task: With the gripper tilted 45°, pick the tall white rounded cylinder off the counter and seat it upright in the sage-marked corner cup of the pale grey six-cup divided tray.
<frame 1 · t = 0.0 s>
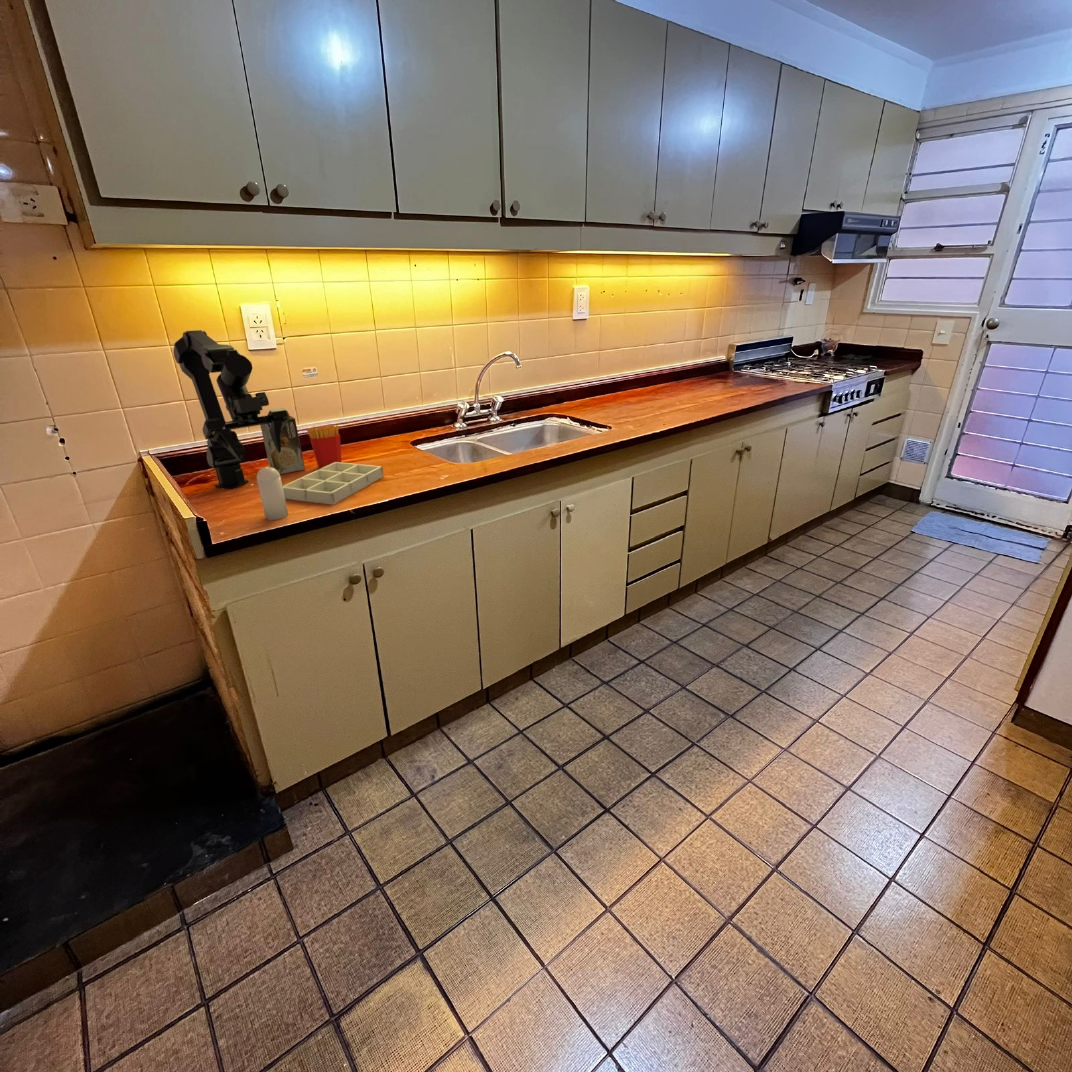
hand: (260, 456, 136), 15 cm above the counter, tool tilted 35°, fingers open, 9 cm apart
coffee box: (287, 470, 175), on the counter
divided tray: (335, 486, 160), on the counter
white rounded cylinder: (276, 516, 140), on the counter
french fries: (329, 466, 178), on the counter
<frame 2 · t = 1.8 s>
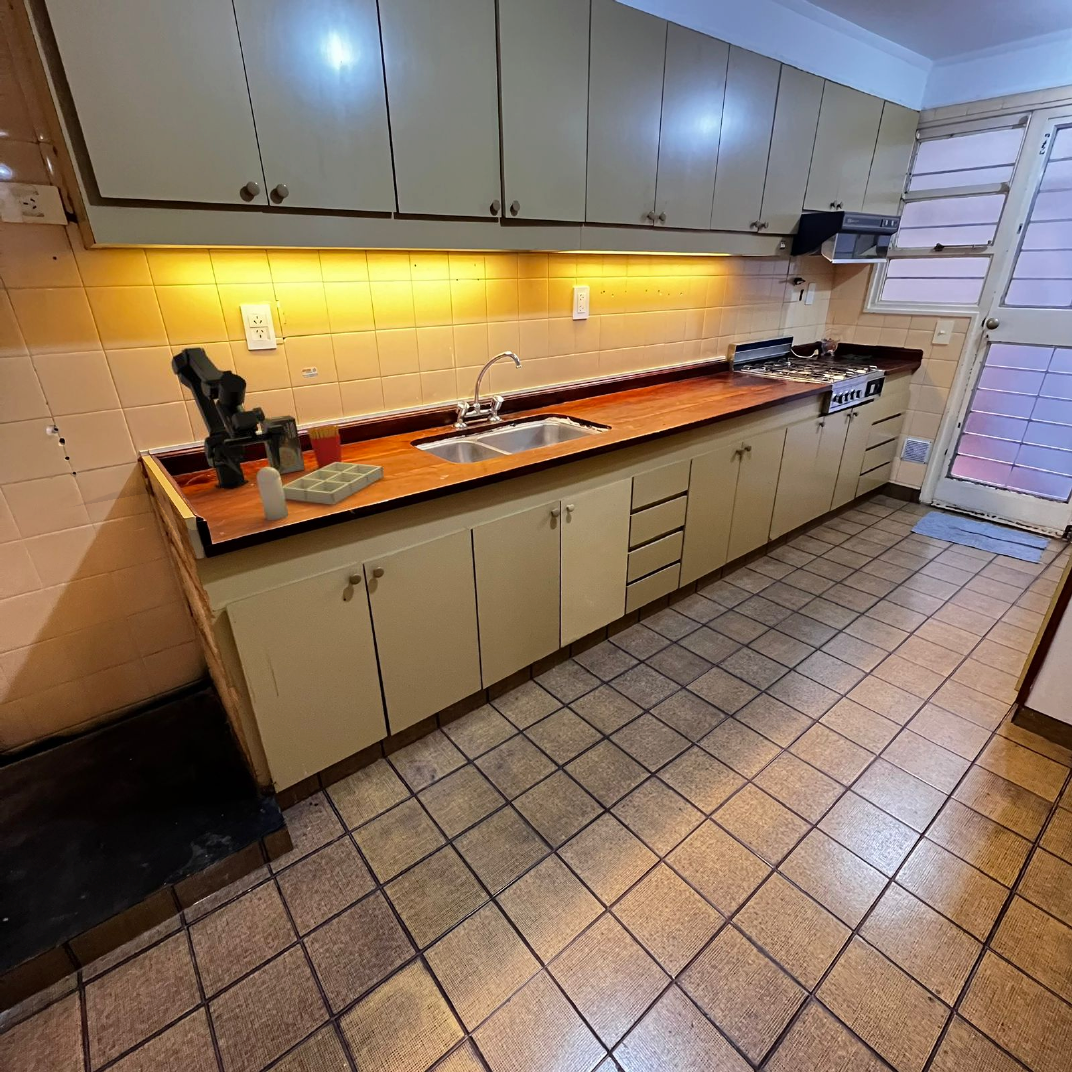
hand: (260, 469, 139), 11 cm above the counter, tool tilted 45°, fingers open, 9 cm apart
nothing on the counter moved.
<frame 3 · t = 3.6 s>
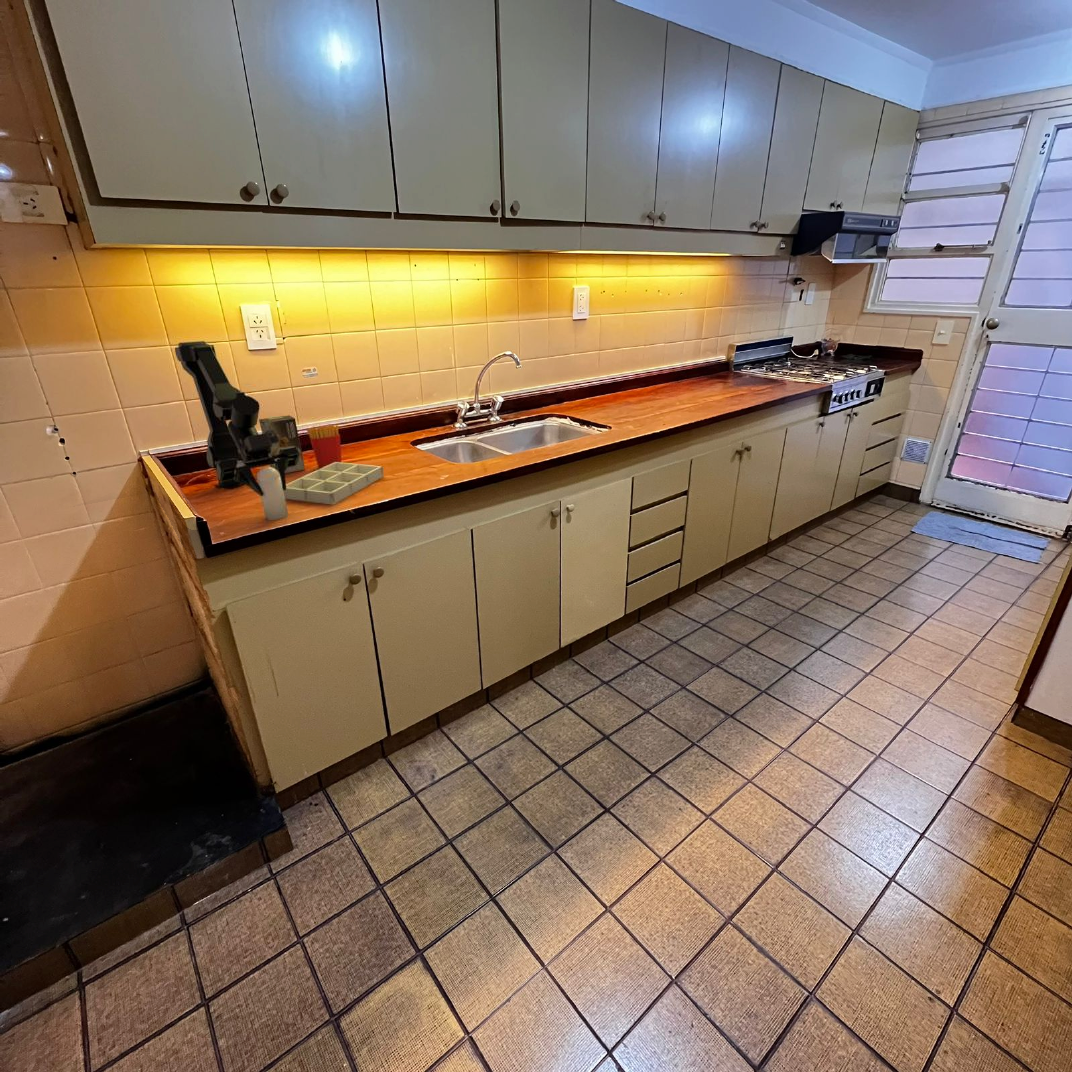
hand: (273, 492, 137), 7 cm above the counter, tool tilted 45°, fingers closed on white rounded cylinder, 5 cm apart
white rounded cylinder: (276, 515, 140), on the counter, touching gripper
everything else where it was.
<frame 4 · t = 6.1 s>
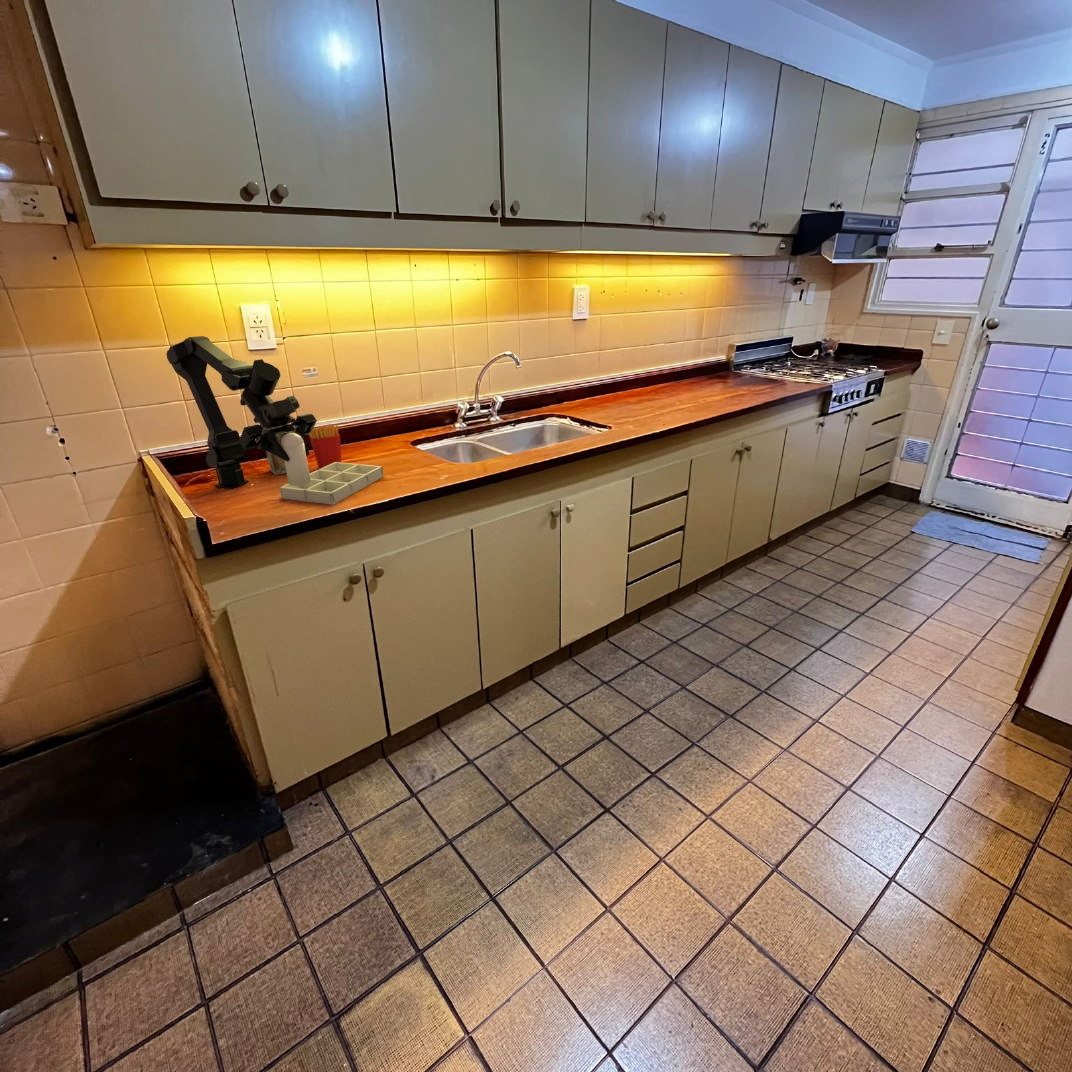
hand: (298, 457, 139), 13 cm above the counter, tool tilted 45°, fingers closed on white rounded cylinder, 5 cm apart
white rounded cylinder: (299, 482, 143), point 7 cm above the counter, touching gripper
everything else where it was.
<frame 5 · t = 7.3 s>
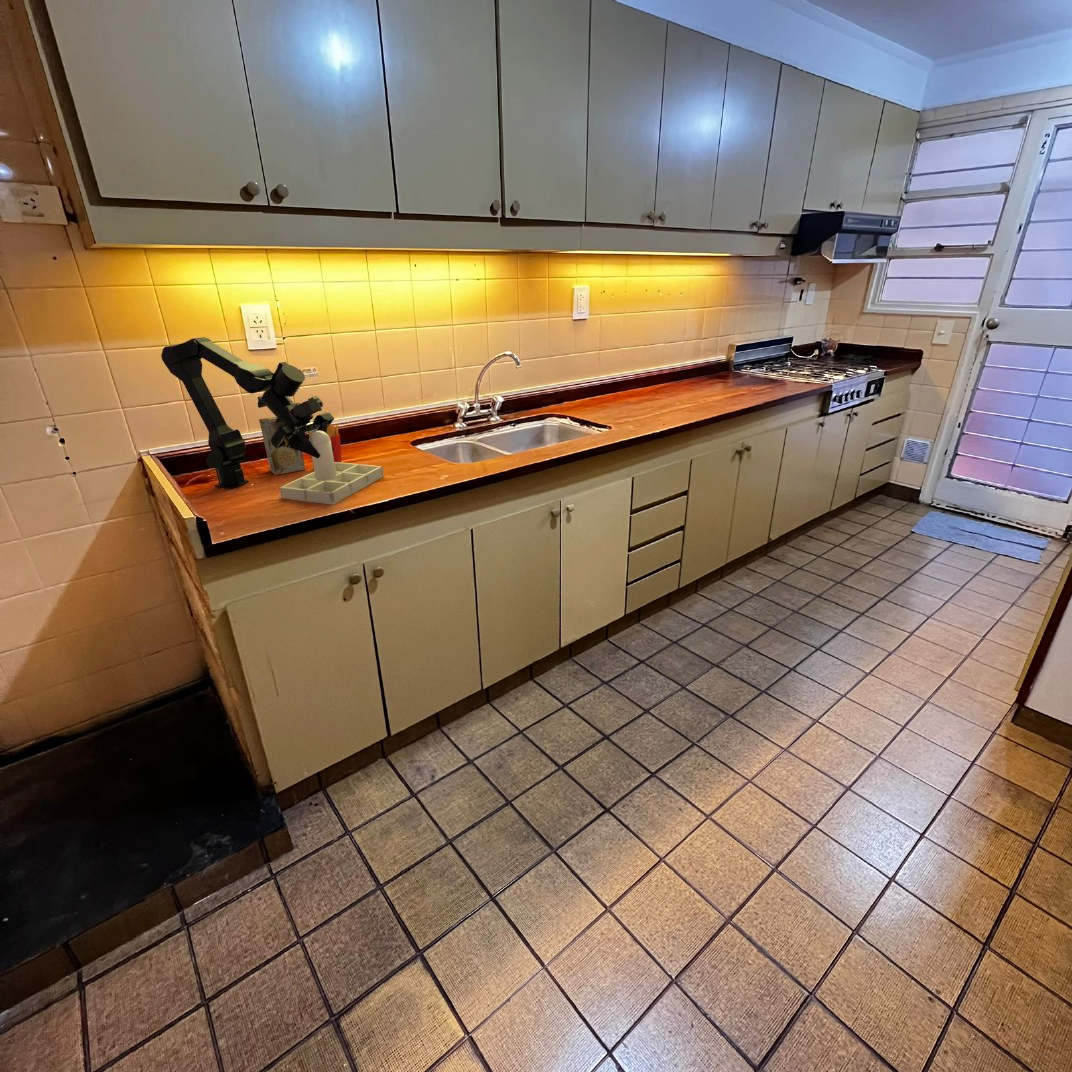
hand: (326, 454, 147), 12 cm above the counter, tool tilted 45°, fingers closed on white rounded cylinder, 5 cm apart
white rounded cylinder: (326, 477, 150), point 6 cm above the counter, touching gripper
everything else where it was.
when the fingers open (9 cm above the counter, at t = 8.4 s): white rounded cylinder drops 1 cm, resting on divided tray.
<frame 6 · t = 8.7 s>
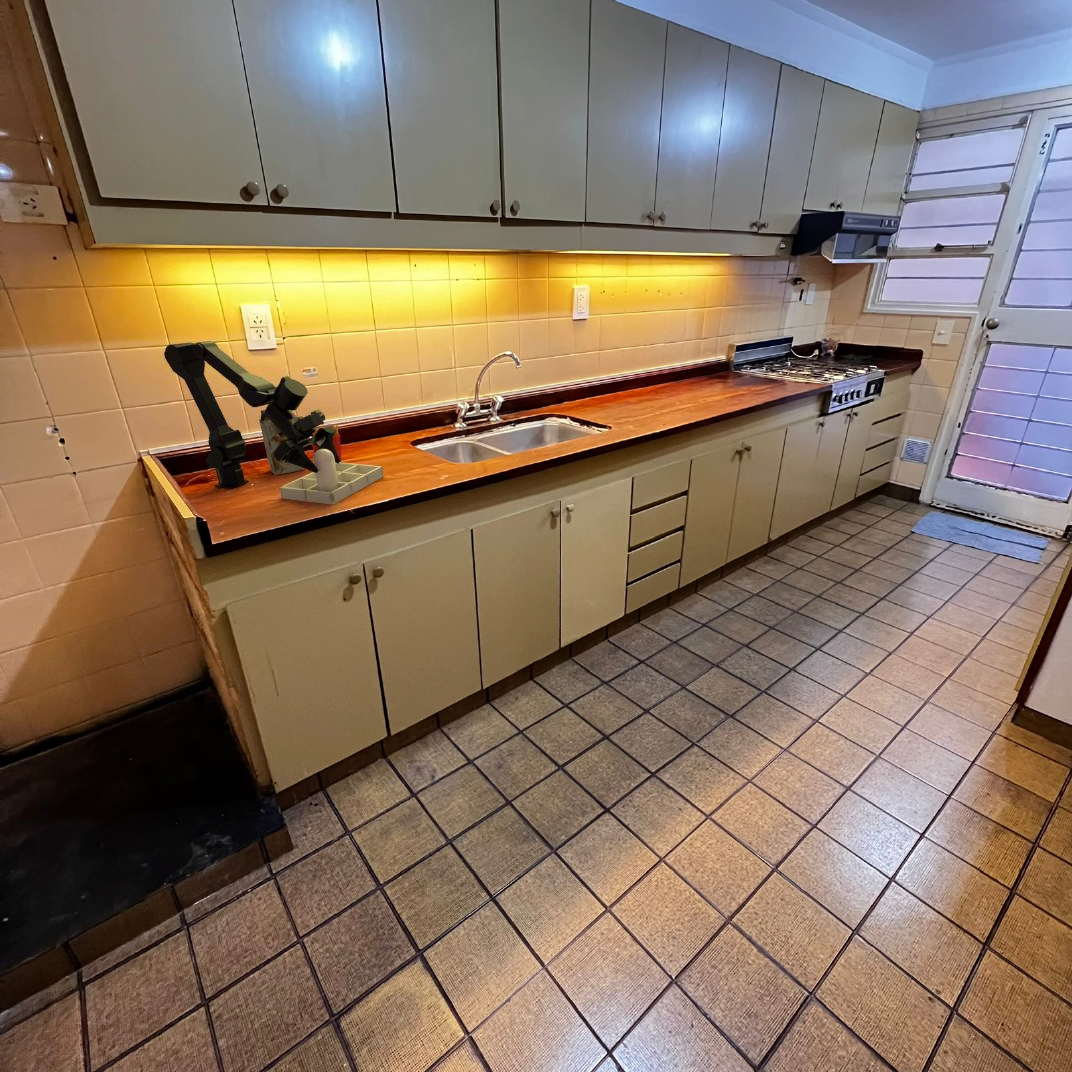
hand: (328, 467, 148), 9 cm above the counter, tool tilted 45°, fingers open, 8 cm apart
white rounded cylinder: (329, 494, 152), point 1 cm above the counter, touching divided tray
everything else where it was.
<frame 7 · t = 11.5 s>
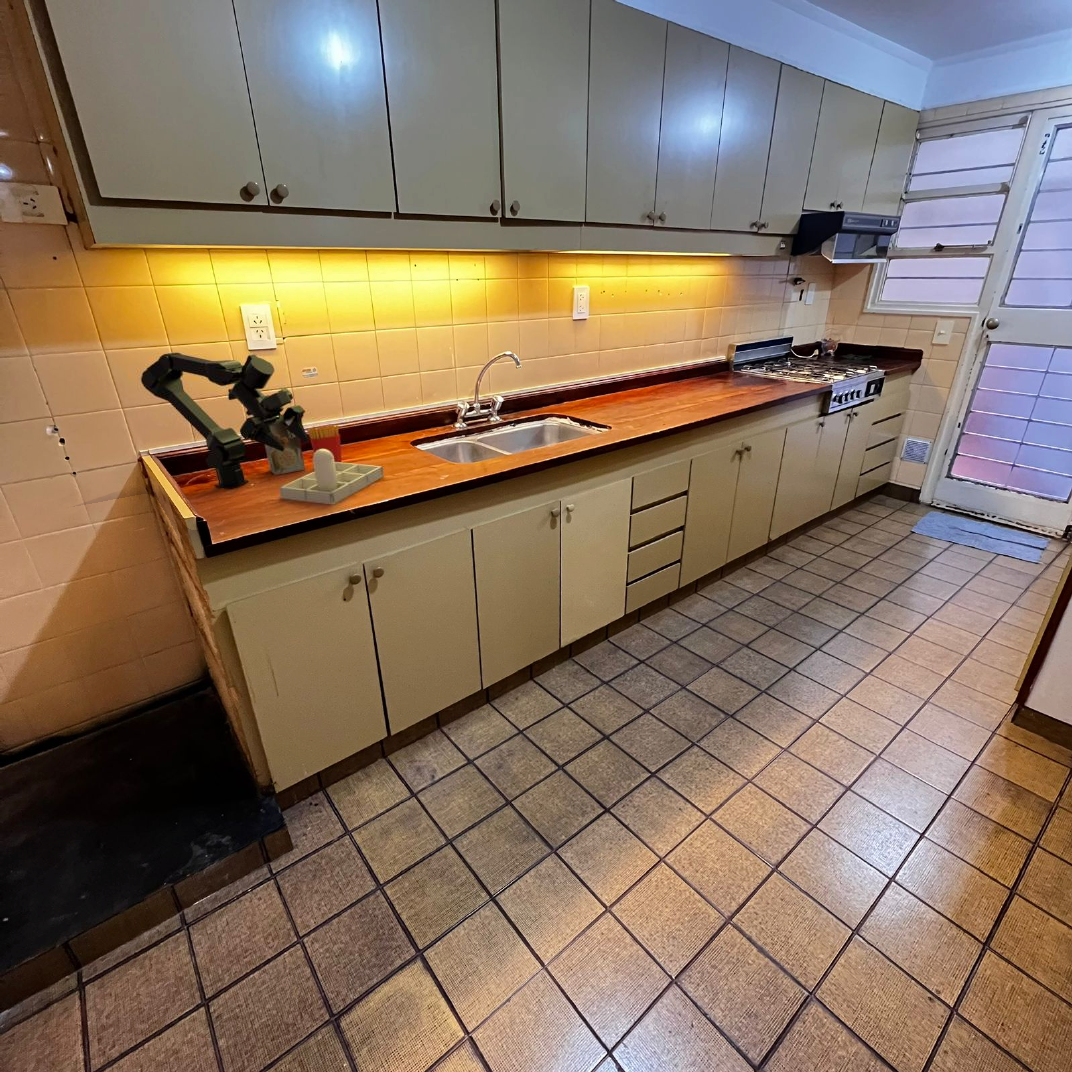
hand: (296, 445, 149), 14 cm above the counter, tool tilted 45°, fingers open, 9 cm apart
nothing on the counter moved.
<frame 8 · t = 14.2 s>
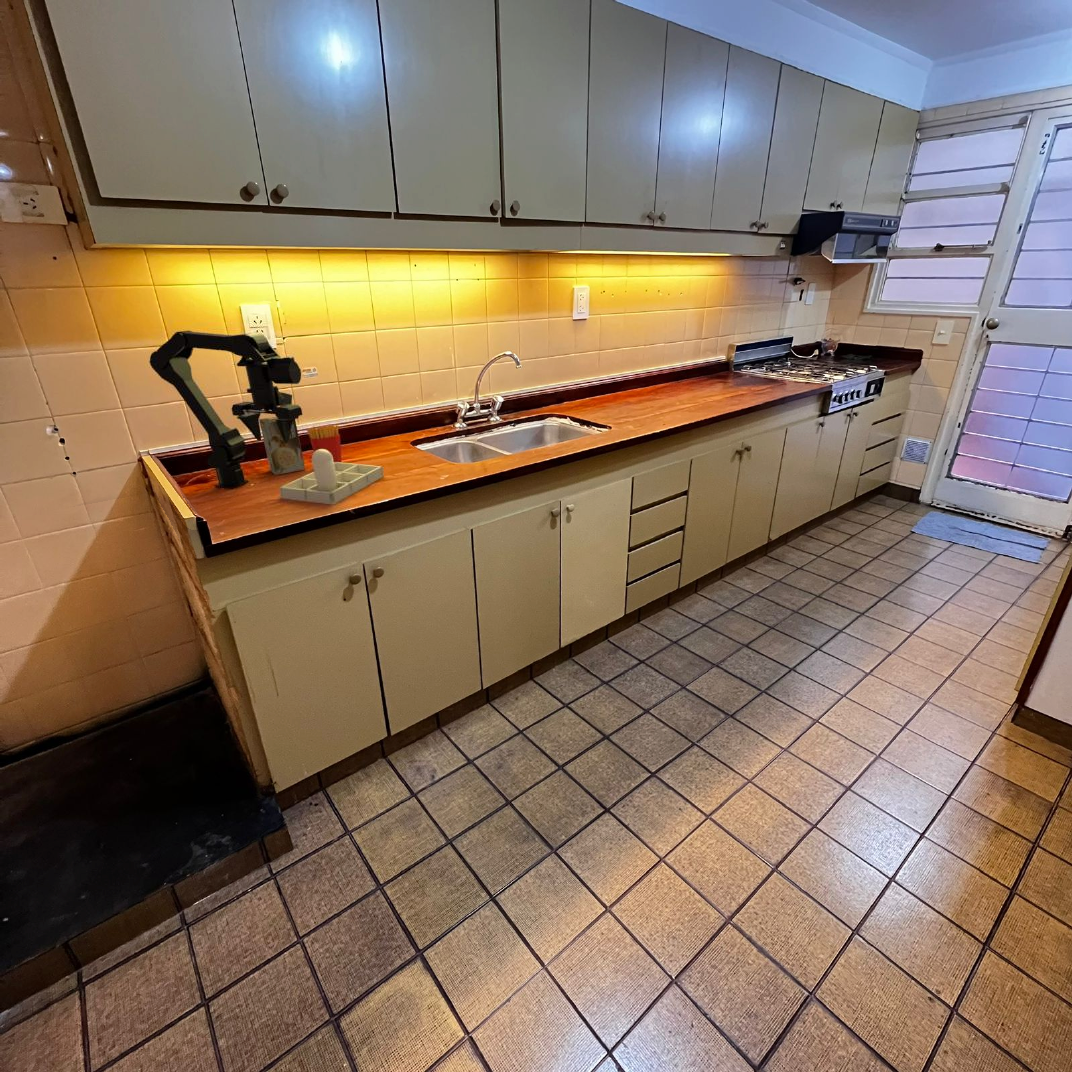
hand: (273, 441, 156), 13 cm above the counter, tool pointing down, fingers open, 9 cm apart
nothing on the counter moved.
at the end: white rounded cylinder 0.0 cm from the target spot on the divided tray, point 0.7 cm above the divided tray's base; white rounded cylinder tilted 1°; the gripper is holding nothing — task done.
